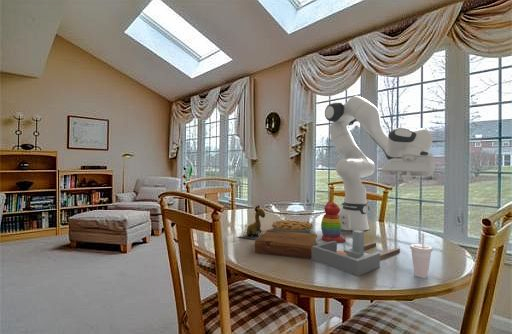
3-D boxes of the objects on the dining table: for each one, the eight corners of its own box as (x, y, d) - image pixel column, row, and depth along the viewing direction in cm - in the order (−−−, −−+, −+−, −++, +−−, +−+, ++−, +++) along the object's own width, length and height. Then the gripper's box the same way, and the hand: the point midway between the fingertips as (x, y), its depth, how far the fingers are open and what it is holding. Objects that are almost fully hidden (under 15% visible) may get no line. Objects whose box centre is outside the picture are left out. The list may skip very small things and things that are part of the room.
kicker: (341, 257, 111) (341, 231, 111) (355, 252, 116) (355, 227, 116) (359, 263, 104) (359, 235, 104) (373, 258, 110) (373, 231, 109)
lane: (341, 255, 114) (341, 251, 114) (373, 245, 127) (373, 242, 127) (369, 264, 105) (369, 259, 104) (399, 252, 118) (399, 248, 118)
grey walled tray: (311, 259, 110) (311, 246, 110) (333, 252, 117) (333, 240, 117) (357, 276, 94) (357, 261, 93) (379, 267, 101) (379, 253, 101)
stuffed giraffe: (262, 241, 134) (262, 207, 135) (231, 237, 143) (230, 205, 144) (277, 235, 148) (277, 204, 148) (247, 232, 157) (247, 202, 157)
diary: (254, 254, 117) (254, 240, 117) (267, 242, 135) (267, 230, 135) (311, 260, 110) (311, 245, 110) (317, 246, 127) (317, 233, 127)
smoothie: (435, 280, 90) (436, 236, 90) (413, 278, 92) (413, 235, 91) (427, 272, 97) (428, 231, 96) (407, 271, 98) (407, 230, 97)
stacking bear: (347, 242, 132) (347, 203, 132) (326, 243, 131) (326, 204, 130) (337, 236, 143) (337, 200, 142) (317, 237, 141) (317, 201, 141)
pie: (317, 229, 158) (317, 220, 158) (307, 239, 138) (307, 228, 138) (280, 225, 167) (280, 216, 167) (265, 234, 148) (265, 224, 147)
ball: (328, 259, 104) (334, 246, 106) (335, 264, 107) (340, 252, 108) (340, 263, 100) (345, 250, 102) (347, 268, 103) (352, 256, 104)
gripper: (387, 153, 134) (375, 175, 129) (435, 152, 117) (423, 177, 112) (392, 162, 137) (380, 184, 131) (439, 163, 120) (428, 188, 115)
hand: (401, 181), depth 121 cm, fingers closed
